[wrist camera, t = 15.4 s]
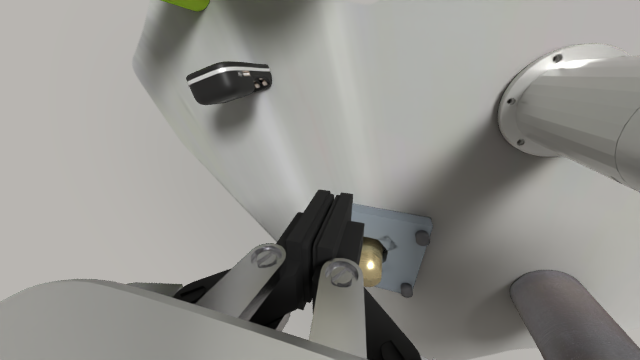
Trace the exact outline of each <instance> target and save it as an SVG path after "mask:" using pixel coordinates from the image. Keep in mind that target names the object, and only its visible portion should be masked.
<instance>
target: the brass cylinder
mask: <svg viewBox="0 0 640 360" xmlns="http://www.w3.org/2000/svg"><path fill="white" fill-rule="evenodd" d="M382 256H383V245H382V243H381V242H380V241H379V240H378V239H374V238H369V237H363V245H362V251H361V257H360V263H359V267H360V268H361V270H362V273H363V281H364V286H365V287H373V286H376V285H377V284H379V283H380V281H381V276H382Z"/></svg>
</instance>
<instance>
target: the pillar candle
mask: <svg viewBox="0 0 640 360" xmlns="http://www.w3.org/2000/svg"><path fill="white" fill-rule="evenodd" d="M510 296H511V299H512V301H513V303H514V305H515V307H516V309H517V310H518V312H519V314H520V316H521V318H522V320H523V321H524V324H525V325H526V327H527V329H528V330H529V332H530V334H531V336H532V338H533V339H534V341H535V343H536V345H537V347H538V349H539V350H540V352H541V354H542V356H543V358H544V360H640V348H639V347H638V346H637V345H636V344H635V343H634V342H633V341H632V339H631V338H630V337H629V336H628V335H627V334H626V333H625V332H624V331H623V329H622V328H621V327H620V326H619V325H618V324H617V323H616V322H615V321H614V320H613V318H612V317H611V316H610V315H609V314H608V313H607V312H606V311H605V310H604V309H603V307H602V306H601V305H600V304H599V303H598V302H597V301H596V300H595V299H594V297H593V296H592V295H591V294H590V293H589V292H588V291H587V290H586V289H585V288H584V287H583V285H582V284H581V283H580V282H579V281H578V280H577V279H575V278H574V277H572V276H571V275H569V274H566V273H563V272H559V271H553V270H539V271H534V272H529V273H527V274H525V275H523V276H522V277H521V278H519V279H518V280H517V281H516V282H515V283H513V284H512V286H511V288H510Z"/></svg>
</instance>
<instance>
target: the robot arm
mask: <svg viewBox="0 0 640 360" xmlns="http://www.w3.org/2000/svg"><path fill="white" fill-rule="evenodd" d="M553 57H555V60H554V61H552V60H553ZM508 99H510V102H509V103H507V101H508ZM498 124H499V128H500V131H501V133H502V135H503V136H504V138H505V139H506V140H507V141H508V142H509V143H510V144H511V145H512V146H514V147H515V148H517V149H519V150H521V151H523V152H525V153H528V154H531V155H535V156H544V157H551V156H562V155H563V156H565V157H567V158H569V159H571V160H573V161H575V162H577V163H579V164H581V165H583V166H586V167H588V168H590V169H592V170H594V171H596V172H598V173H600V174H602V175H604V176H606V177H609V178H611V179H613V180H615V181H617V182H619V183H621V184H623V185H625V186H627V187H630V188H632V189H634V190H636V191H639V192H640V56H631V55H630V54H628V53H627V52H625V51H624V50H622V49H620V48H618V47H615V46H612V45H608V44H599V43H589V44H578V45H573V46H568V47H565V48H561V49H558V50H555V51H553V52H550V53H548V54H546V55H544V56H542V57H540V58H539V59H537V60H536V61H534V62H532V63H531V64H529V65H528V66H527V67H526V68H525V69H524V70H522V71H521V72H520V73H519V74H518V75H517V76H516V77H515V78H514V80H513V81H512V82H511V83H510V85H509V86H508V88H507V89H506V91H505V92H504V94H503V97H502V99H501V101H500V105H499V110H498ZM519 139H520V140H519ZM518 140H519V142H517V141H518ZM352 203H353V194H348V193H341V194H340V195H336V197H335V199H334V194H331V193H330V191H326V190H318V191H317V193H316V194H315V196H314V197H313V199H312V201H311V202H310V204H309V205H308V207H307V208H306V210H305V211H304V213H301V212H299V213H297V214H296V216H295V217H294V219H293V220H292V222H291V223H290V224H289V226H288V227H287V229H286V230H285V232H284V233H283V235H282V236H281V237H280V239H279V240H278V242H277V243H276V244H273V243H266V244H262V245H259V246H257V247H255V248H254V249H252V250H251V251H250V252H249V253H248V254H247V255H246V256H245V257H244V258H243V259H242V260H241V261H240V262H238V263H237V264H236V265H235V266H234V267H233V268H232V269H229V270H226V271H223V272H220V273H217V274H215V275H212V276H209V277H206V278H203V279H200V280H198V281H195V282H192V283H190V284H188V285H186V286H184V287H183V286H182V284H163V283H129V284H122V283H117V282H112V281H105V280H97V279H71V280H61V281H54V282H49V283H44V284H40V285H36V286H33V287H30V288H27V289H25V290H23V291H20V292H18V293H16V294H14V295H12V296H10V297H8V298H7V299H5V300H3V301H1V302H0V360H429V359H427V358H425V357H423V356H421V355H420V354H419V352H418V351H417V349H416V348H415V346H414V345H413V344H412V343H411V341H410V340H409V339H408V338H407V337H406V336H405V334H404V333H403V332H402V331H401V330H400V329H399V327H398V326H397V325H396V324H395V323H394V321H393V320H392V319H391V318H390V317H389V316H388V314H387V313H386V312H385V311H384V310H383V309H382V307H381V306H380V305H379V304H378V303H377V302H376V300H375V299H374V298H373V297H372V296H371V294H370V293H369V292H368V291H367V290H366V289H365V287H364V281H363V273H362V270H361V268H360V267H359V263H360V257H361V251H362V245H363V236H364V226H365V223H361V222H355V221H351V217H352ZM312 298H313V320H312V325H311V331H310V337H309V340H306V339H302V338H299V337H296V336H293V335H290V334H287V333H283V332H282V330H283V328H284V327H285V325H286V323H287V322H288V320H289V317H290V312H292V311H294V310H296V309H297V308H298V309H301V310H304V307H305V304H306V302H309V303H310V302H311V300H312ZM432 360H437V359H435V358H433V359H432Z"/></svg>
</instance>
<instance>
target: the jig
mask: <svg viewBox="0 0 640 360" xmlns="http://www.w3.org/2000/svg"><path fill="white" fill-rule="evenodd" d="M351 221H355V222H361V223H365V226H364V236H363V237H369V238H374V239H378V240H379V241H380V242H381V243H382V245H383V246H384V247H385V248H386V249H387V250H386V252H385V253H383V256H382V276H381V281H380V283H379V284H377V285H376V286H375V287H379V288H383V289H386V290H390V291H394V292H398V293H401V295H402V296H404V297H407V298H409V297H412V295H413V291H412V290H413V287H414V284H415V281H416V278H417V275H418V272H419V269H420V265H421V262H422V259H423V256H424V253H425V250H426V247H427V245H428V244H429V243H430V239H429V237H430V234H431V231H432V228H433V225H432V221H431V218H428V217H423V216H417V215H412V214H406V213H401V212H396V211H390V210H385V209H379V208H374V207H368V206H363V205H357V204H352V217H351Z"/></svg>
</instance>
